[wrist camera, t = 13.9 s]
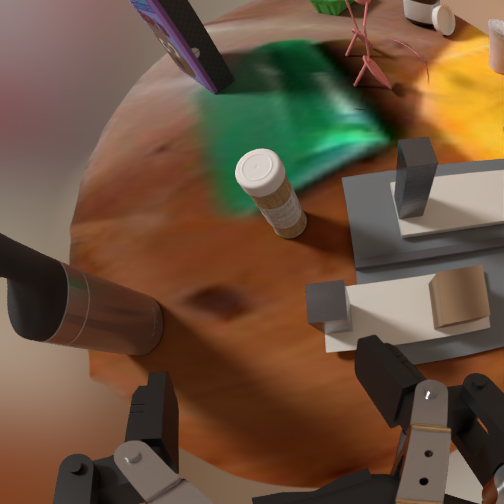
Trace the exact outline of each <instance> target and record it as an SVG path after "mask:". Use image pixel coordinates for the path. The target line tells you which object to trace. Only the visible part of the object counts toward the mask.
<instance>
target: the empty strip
mask: <svg viewBox="0 0 504 504" xmlns="http://www.w3.org/2000/svg"><path fill="white" fill-rule="evenodd" d="M437 166H438V161H437V158H436V156H435V153H434V150H433V148H432V145H431V143H430V140H429V137H420V138H411V139H402V140H399V142H398V158H397V171H396V182H391V183H390V188H391V192H392V196H393V200H394V205H395V209H396V213H397V218H398V223H399V228H400V233H401V238H408V237H415V236H422V235H429V234H435V233H442V232H449V231H456V230H463V229H470V228H477V227H484V226H490V225H497V224H504V170H496V171H485V172H475V173H465V174H456V175H447V176H438V177H435V173H436V170H437Z"/></svg>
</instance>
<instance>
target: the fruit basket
mask: <svg viewBox="0 0 504 504" xmlns="http://www.w3.org/2000/svg"><path fill="white" fill-rule="evenodd" d="M309 1H311V3H312V4H313V6H314V7H315V8H316V10H317V11H318V13H324V14H329V15H335V16H338V15H339V14H340V13H341V12H343V11H344V10H345V9H346V8H347V4H346V2H345V0H309ZM347 1H348V3H349V6H350V4H352V3H353V2H354V1H355V0H347Z"/></svg>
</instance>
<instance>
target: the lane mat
mask: <svg viewBox="0 0 504 504" xmlns="http://www.w3.org/2000/svg"><path fill="white" fill-rule="evenodd" d="M496 170H504V159H496V160H484V161H472V162H462V163H452V164H442V165H438V166H437V170H436V173H435V177H438V176H447V175H456V174H465V173H475V172H485V171H496ZM396 171H397V170H392V171H385V172H378V173H371V174H364V175H357V176H350V177H344V178H342V182H343V187H344V193H345V199H346V205H347V211H348V217H349V224H350V230H351V237H352V245H353V252H354V260H355V268H356V277H357V285H361V284H368V283H376V282H383V281H390V280H397V279H404V278H411V277H418V276H424V275H431V274H436V273H437V272H440V271H446V270H452V269H458V268H464V267H470V266H476V265H482V268H483V273H484V278H485V284H486V289H487V296H488V302H489V309H490V316H489V321H490V328H487V329H482V330H477V331H473V332H468V333H463V334H458V335H453V336H448V337H442V338H437V339H431V340H425V341H419V342H412V343H406V344H399V345H393V346H395V347H397V348H398V349H399V350H400V351H401V352H402V353H403V355H404V356H406V358H407V359H408V360H409V361H410V362H411V363H412V364H413V365H416V364H422V363H428V362H434V361H440V360H445V359H450V358H455V357H460V356H465V355H469V354H474V353H478V352H483V351H487V350H491V349H495V348H499V347H503V346H504V224H497V225H490V226H484V227H477V228H470V229H463V230H456V231H449V232H442V233H435V234H429V235H422V236H415V237H408V238H401V233H400V228H399V223H398V218H397V213H396V209H395V205H394V200H393V196H392V192H391V188H390V183H391V182H396Z"/></svg>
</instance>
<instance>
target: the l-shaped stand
mask: <svg viewBox="0 0 504 504" xmlns="http://www.w3.org/2000/svg"><path fill="white" fill-rule="evenodd" d="M435 275H436V274H431V275H424V276H418V277H411V278H404V279H397V280H390V281H383V282H376V283H368V284H361V285H353V286H346V285H345V281H344V280H338V281H330V282H322V283H313V284H305V286H306V302H307V320H308V324H310V325H311V326H313V327H315V328H316V329H318V330H319V331H321V332H323V333H324V334H325V340H326V352H327V353H328V352H339V351H349V350H356V349H357V341H358V339H359V338H363V337H366V336H370V335H374V334H375V335H377V336H378V337H379V338H380V340H381V341H382V342H383V343H387V342H388V343H390V344H392V345H399V344H406V343H412V342H419V341H425V340H431V339H437V338H442V337H448V336H453V335H458V334H463V333H468V332H473V331H477V330H482V329H487V328H490V321H489V316H487V317H485V318H482V319H480V320H477V321H475V322H470V323H465V324H460V325H455V326H450V327H444V328H439V329H434V325H433V316H432V307H431V300H430V292H429V285H428V284H429V282H430V281H431V280H432V279H433V277H434V276H435Z"/></svg>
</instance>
